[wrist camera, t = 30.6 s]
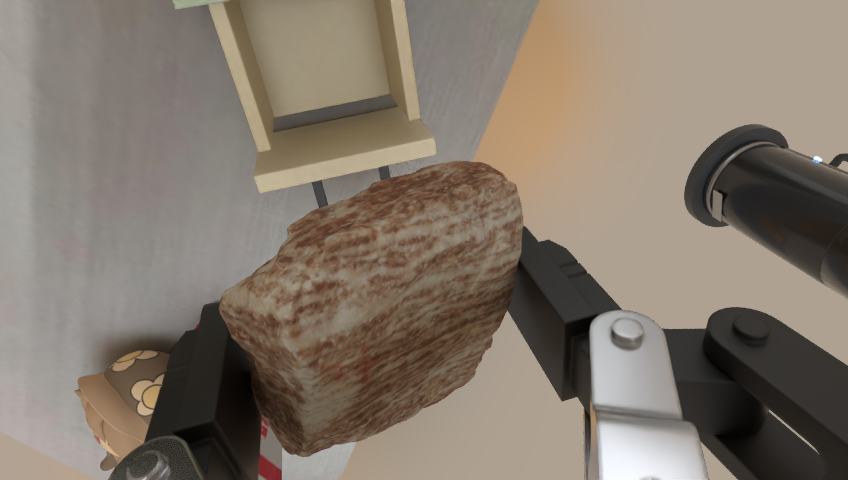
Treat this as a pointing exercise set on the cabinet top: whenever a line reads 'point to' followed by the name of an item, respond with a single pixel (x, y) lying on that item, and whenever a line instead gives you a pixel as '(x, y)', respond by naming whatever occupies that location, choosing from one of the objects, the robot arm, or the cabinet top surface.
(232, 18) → the drawer
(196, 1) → the cabinet
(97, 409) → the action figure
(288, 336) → the stone
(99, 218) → the cabinet top surface
